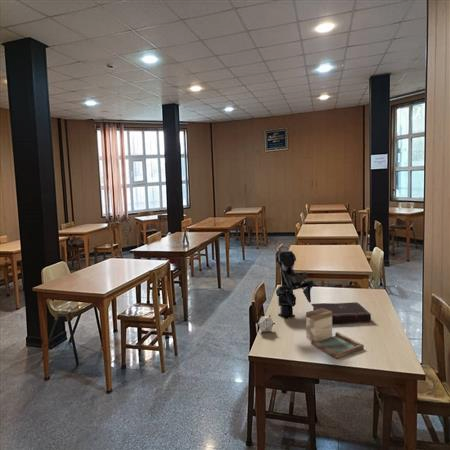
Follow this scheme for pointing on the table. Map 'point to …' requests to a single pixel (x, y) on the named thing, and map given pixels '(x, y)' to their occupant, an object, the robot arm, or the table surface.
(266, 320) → the white spiky ball
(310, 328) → the maple block
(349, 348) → the felt tray
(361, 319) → the diary
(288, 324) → the table surface
